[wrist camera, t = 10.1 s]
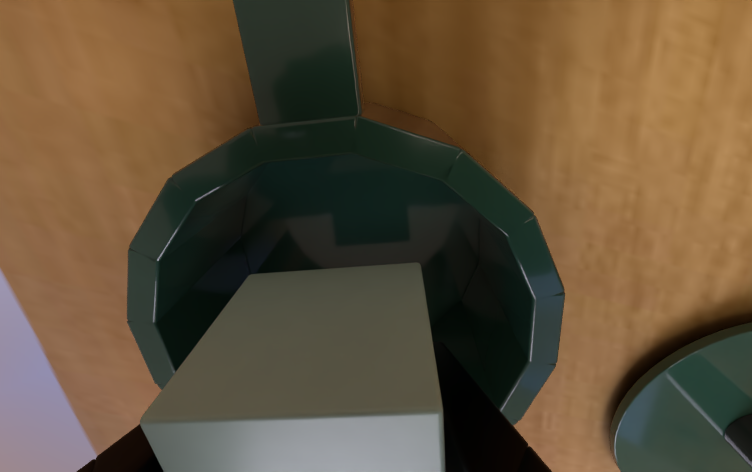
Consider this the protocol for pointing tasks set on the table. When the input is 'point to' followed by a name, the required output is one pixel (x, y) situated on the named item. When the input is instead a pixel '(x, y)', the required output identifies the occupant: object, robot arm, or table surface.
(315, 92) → the pot
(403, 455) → the block
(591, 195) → the table surface
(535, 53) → the table surface
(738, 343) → the lid
